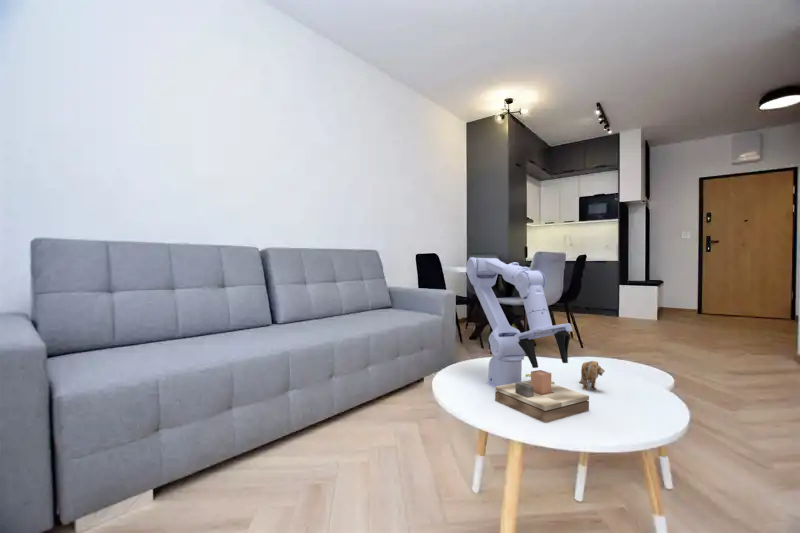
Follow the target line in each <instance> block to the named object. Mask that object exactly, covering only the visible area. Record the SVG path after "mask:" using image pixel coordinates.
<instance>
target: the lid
mask: <svg viewBox="0 0 800 533" xmlns="http://www.w3.org/2000/svg"><path fill="white" fill-rule="evenodd" d="M494 388H495V391H498V392H501V393H503V394H505V395H508V396H510V397H513V398H515V399H518V400H520V401H522V402H525V403H527V404H530V405H532V406H535V407H537V408H539V409H542V410H544V411H547V410H551V409H555V408H559V407H563V406H567V405H571V404H575V403H579V402H583V401H590V395H588V394H585V393H582V392H578V391H575V390H572V389H569V388H567V387H563V386H561V385H557V384H554V383H551V393H550V394H546V395H540V394H537V393H534V386H531V379H530V380H524V381H521V382H517V383H512V384H507V385H501V386H496V387H494Z"/></svg>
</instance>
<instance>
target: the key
mask: <svg viewBox="0 0 800 533" xmlns="http://www.w3.org/2000/svg"><path fill="white" fill-rule="evenodd" d="M525 377H526V378H528V377H530V378H531V373H525ZM551 384H554V385H556V384H555V381H554V380H551Z"/></svg>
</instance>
